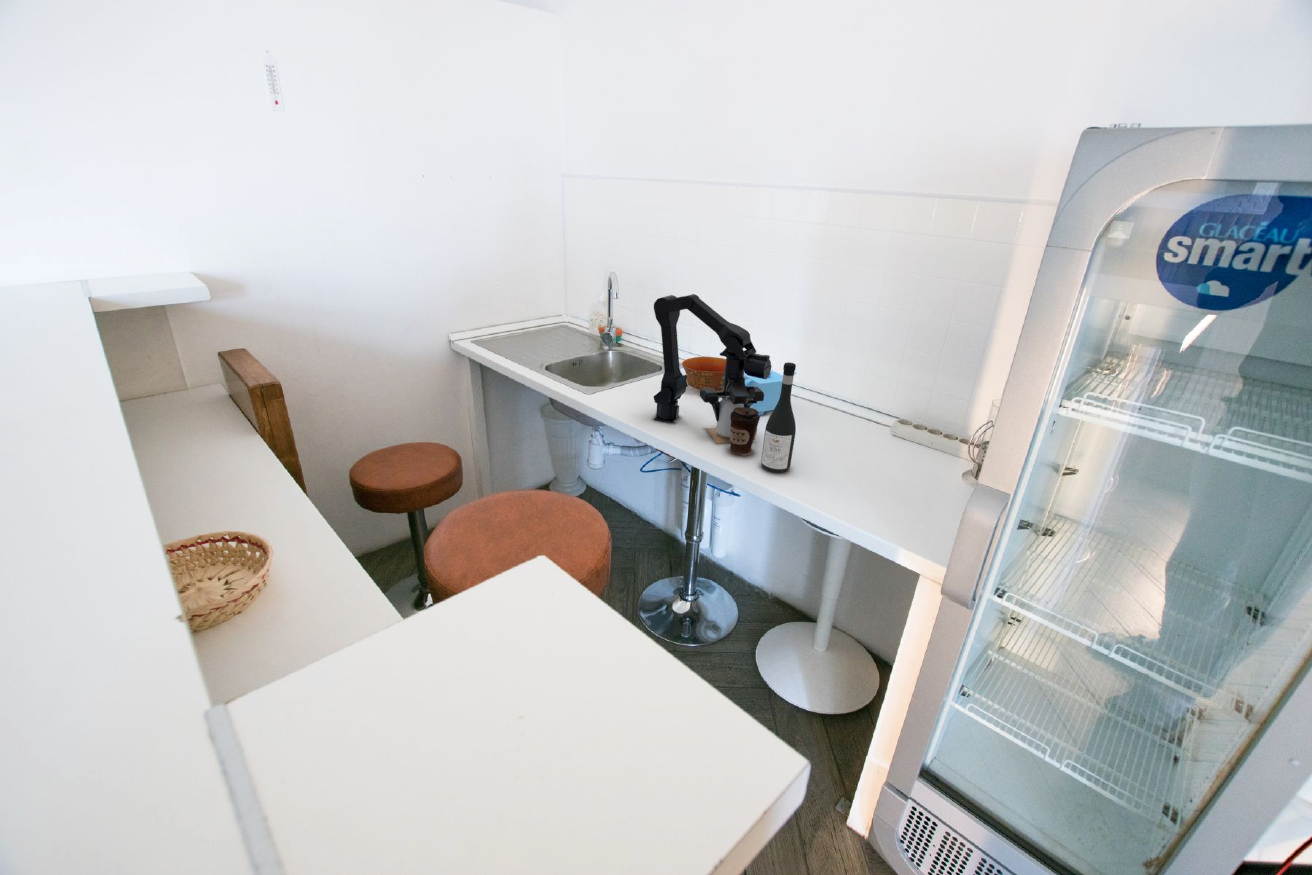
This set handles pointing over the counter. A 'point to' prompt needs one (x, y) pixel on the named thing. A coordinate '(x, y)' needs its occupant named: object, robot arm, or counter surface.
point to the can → (725, 417)
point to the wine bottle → (780, 428)
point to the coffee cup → (743, 429)
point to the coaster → (717, 436)
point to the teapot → (766, 390)
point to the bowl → (705, 372)
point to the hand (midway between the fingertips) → (729, 420)
